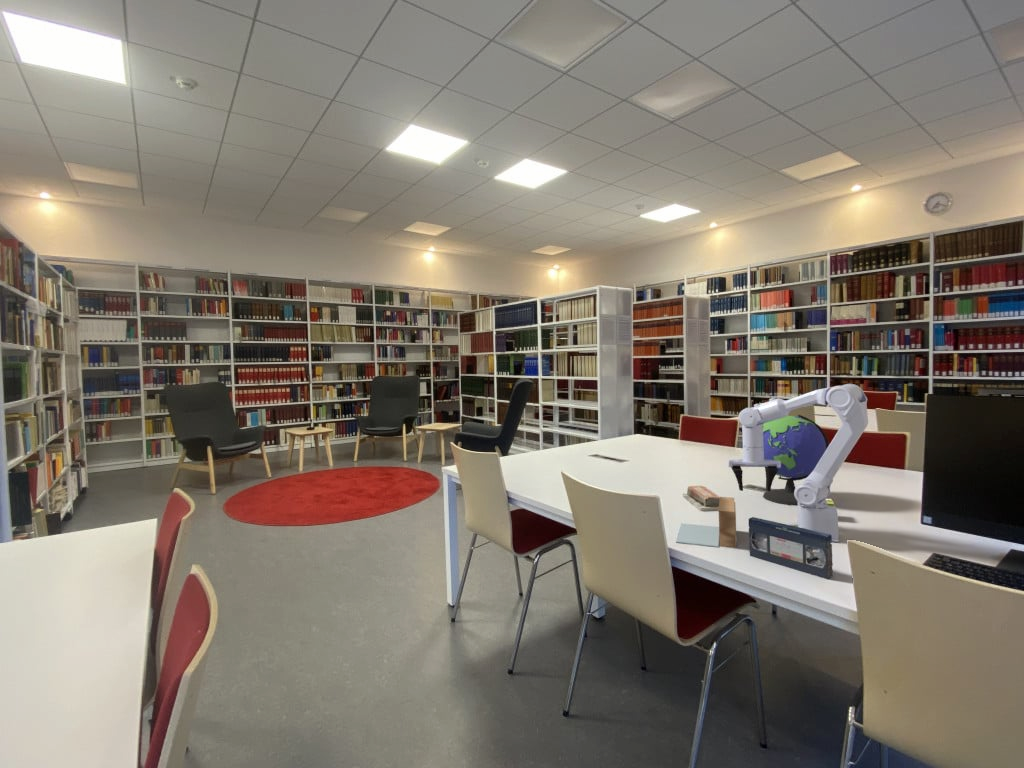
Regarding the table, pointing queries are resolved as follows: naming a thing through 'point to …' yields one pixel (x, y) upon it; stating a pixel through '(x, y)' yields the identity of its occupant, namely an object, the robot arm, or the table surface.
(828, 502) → the rubik's cube
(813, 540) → the vhs cassette tape
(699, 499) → the packaged product
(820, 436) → the globe
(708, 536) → the mat
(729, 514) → the tan wooden block
